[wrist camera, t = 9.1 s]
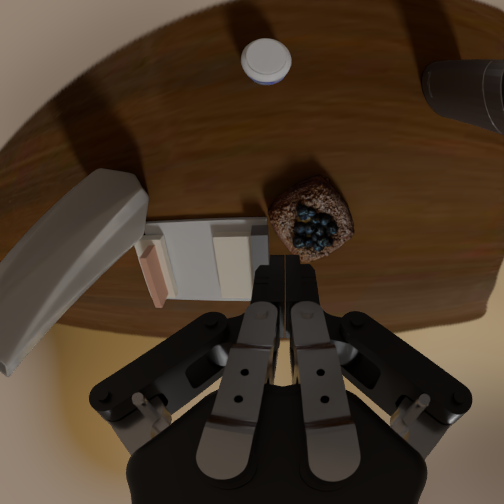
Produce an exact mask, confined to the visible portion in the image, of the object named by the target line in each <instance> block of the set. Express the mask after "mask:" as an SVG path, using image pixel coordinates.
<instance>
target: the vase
mask: <svg viewBox="0 0 504 504" xmlns="http://www.w3.org/2000/svg"><path fill="white" fill-rule="evenodd" d="M148 202H149V196H148V194H147V193H146V191H145V189H144V188H143V186H142V185H141V183H140V182H139V180H138V178H137V177H136V175H134V174H132V173H128V172H122V171H116V170H110V169H103V168H100V169H96V170H95V171H94V172H92V173H91V174H89V175H88V176H87V177H86V178H84V179H83V180H82V181H81V182H80V183H78V184H77V185H76V186H75V187H74V188H73V189H71V190H70V191H69V192H68V193H67V194H66V195H65V196H63V197H62V198H61V199H60V200H59V201H58V202H57V203H56V204H55V205H54V206H53V207H51V208H50V209H49V210H48V211H47V212H46V213H45V214H44V215H43V216H42V217H41V218H40V219H39V220H38V221H37V222H36V223H35V224H34V225H33V226H32V227H31V228H30V229H29V231H28V232H27V233H26V234H25V235H24V236H23V237H22V238H21V239H20V240H19V241H18V243H17V244H16V245H15V246H14V247H13V248H12V249H11V251H10V252H9V253H8V254H7V255H6V256H5V258H4V259H3V260H2V261H1V263H0V372H1V373H2V374H4V375H5V376H6V377H9V376H10V375H11V374H12V373H13V371H14V370H15V369H16V368H17V367H18V366H19V364H20V363H21V362H22V361H23V359H24V358H25V357H26V356H27V355H28V353H29V352H30V351H31V350H32V348H33V347H34V346H35V345H36V344H37V343H38V342H39V340H40V339H41V338H42V337H43V336H44V335H45V333H46V332H47V331H48V330H49V329H50V328H51V327H52V326H53V325H54V324H55V322H56V321H57V320H58V319H59V318H60V317H61V316H62V315H63V314H64V313H65V312H66V311H67V310H68V308H69V307H70V306H71V305H72V304H73V303H74V302H75V301H76V300H77V299H78V298H79V297H80V296H81V295H82V294H83V293H84V292H85V291H86V290H87V289H88V288H89V287H90V286H91V285H92V284H93V283H94V282H95V281H96V280H97V279H98V278H99V277H100V276H101V275H102V274H103V273H104V272H105V271H106V270H107V269H108V268H110V267H111V266H112V265H113V264H114V263H115V262H116V261H117V260H118V259H119V258H120V257H121V256H122V255H123V254H125V253H126V252H127V251H128V250H129V249H130V248H131V247H132V246H133V245H134V244H136V243H137V242H138V241H139V240H140V239H141V238H142V236H143V234H144V229H145V222H146V215H147V209H148Z"/></svg>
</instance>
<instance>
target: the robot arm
mask: <svg viewBox="0 0 504 504" xmlns="http://www.w3.org/2000/svg"><path fill="white" fill-rule="evenodd" d="M422 88H423V92H424V96H425V98H426V100H427V102H428V104H429V105H430V107H431V108H432V109H433V110H434V111H435V112H436V113H437V114H439V115H441V116H443V117H447V118H450V119H454V120H458V121H461V122H464V123H468V124H471V125H475V126H478V127H481V128H484V129H487V130H490V131H493V132H496V133H499V134H501V135H504V60H492V59H469V60H447V61H436V62H433V63H431V64H429V65H428V66H427V67H426V69H425V70H424V73H423V76H422ZM284 312H285V268H284V255H270V265H260V266H259V267H258V268H257V269H256V271H255V276H254V284H253V290H252V297H251V304H250V306H248V307H247V309H246V311H245V313H244V314H242V315H240V316H237V317H233V318H228V319H227V318H226V316H225V315H223V314H222V313H219V312H208V313H205V314H203V315H201V316H200V317H198V318H197V319H195V320H194V321H192V322H191V323H190V324H188V325H187V326H185V327H184V328H182V329H181V330H179V331H178V332H176V333H175V334H173V335H172V336H170V337H169V338H167V339H166V340H164V341H163V342H161V343H160V344H158V345H157V346H155V347H154V348H153V349H151V350H149V351H148V352H146V353H145V354H143V355H142V356H140V357H139V358H137V359H136V360H134V361H133V362H131V363H129V364H128V365H126V366H125V367H124V368H122V369H120V370H119V371H117V372H116V373H114V374H112V375H111V376H109V377H108V378H106V379H105V380H103V381H102V382H100V383H98V384H97V385H95V386H94V387H93V389H92V390H91V392H90V395H89V402H90V404H91V406H92V407H93V408H94V409H95V410H96V411H97V412H98V413H99V414H100V415H101V417H102V418H103V419H104V420H106V421H107V422H108V423H109V424H110V425H111V426H112V428H113V429H114V431H115V432H116V434H117V436H118V437H119V438H120V440H121V442H122V443H123V444H124V446H125V447H126V449H127V450H128V452H129V453H130V454H131V457H130V459H129V461H128V464H127V469H126V477H127V482H128V485H129V488H130V493H131V500H132V504H418V501H419V498H420V496H421V493H422V491H423V489H424V486H425V483H426V480H427V466H426V463H425V458H426V457H427V456H428V455H429V454H430V452H431V451H432V450H433V448H434V447H435V446H436V444H437V443H438V442H439V440H440V439H441V438H442V436H443V435H444V434H445V432H446V431H447V429H448V428H449V427H450V426H452V424H454V423H455V422H456V421H457V420H458V419H459V418H461V417H462V416H463V415H464V414H465V413H466V412H467V411H468V410H469V409H470V407H471V405H472V394H471V392H470V390H469V389H468V388H467V387H466V386H465V385H463V384H462V383H461V382H459V381H458V380H457V379H455V378H454V377H453V376H451V375H450V374H449V373H447V372H445V371H444V370H443V369H442V368H440V367H439V366H438V365H436V364H435V363H433V362H432V361H431V360H429V359H428V358H427V357H425V356H424V355H423V354H421V353H420V352H418V351H417V350H416V349H414V348H413V347H411V346H410V345H409V344H407V343H406V342H405V341H403V340H402V339H400V338H399V337H397V336H396V335H395V334H393V333H392V332H391V331H389V330H388V329H386V328H385V327H384V326H382V325H381V324H379V323H378V322H377V321H375V320H374V319H372V318H371V317H369V316H368V315H367V314H365V313H362V312H358V311H353V312H349V313H347V314H345V315H344V316H343V317H342V318H341V317H336V316H332V315H329V314H328V313H326V312H325V311H323V309H322V308H321V306H320V302H319V295H318V288H317V281H316V275H315V270H314V269H313V267H312V266H311V265H310V264H300V255H286V338H290V362H291V373H292V385H289V386H283V387H281V386H277V385H274V378H275V371H276V364H277V356H278V348H279V345H280V338H284ZM342 375H343V376H344V377H345V378H347V379H348V380H349V381H350V382H351V383H352V384H353V385H355V386H356V387H357V388H358V389H359V390H360V391H362V392H363V393H364V394H365V395H366V396H367V397H369V398H370V399H371V400H372V401H373V402H374V403H376V404H377V405H378V406H379V407H380V408H382V409H383V410H384V411H385V412H386V413H387V414H389V415H390V416H391V418H390V426H391V427H390V426H389V425H388V424H387V423H386V422H385V421H384V420H382V419H381V418H380V417H379V416H378V415H377V414H376V413H375V412H374V411H373V410H372V409H371V408H370V407H368V406H367V405H366V404H365V403H364V402H363V401H362V400H361V399H360V398H359V397H357V396H356V395H355V394H353V393H351V392H350V391H347V390H345V385H344V380H343V376H342ZM220 377H222V380H221V383H220V386H219V389H218V390H216V391H214V392H212V393H210V394H209V395H207V396H205V397H204V398H203V399H202V400H201V401H199V402H198V403H197V404H196V405H194V406H193V407H192V408H191V409H190V410H188V411H187V412H186V413H185V414H183V415H182V416H181V417H180V418H178V419H177V420H176V421H174V422H173V423H172V424H171V420H172V418H171V415H172V414H173V413H175V412H176V411H177V410H179V409H180V408H181V407H183V406H184V405H186V404H187V403H188V402H190V401H191V400H192V399H193V398H195V397H196V396H197V395H199V394H200V393H201V392H203V391H204V390H205V389H206V388H208V387H209V386H210V385H212V384H213V383H214V382H215V381H217V380H218V379H219V378H220ZM170 424H171V425H170Z"/></svg>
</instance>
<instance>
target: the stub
mask: <svg viewBox="0 0 504 504" xmlns="http://www.w3.org/2000/svg"><path fill="white" fill-rule="evenodd" d="M134 245H135V248H136V252H137V255H138V258H139V262H140V265H141V268H142V271H143V274H144V277H145V280H146V283H147V286H148V289H149V292H150V294H151V297H152V299H153V301H154V304H155V307H156V308H162V307H163V305H164V302H165V300H166V298H176V296H177V294H178V290H177V286H176V282H175V279H174V275H173V271H172V267H171V264H170V260H169V256H168V252H167V247H166V243H165V239H164V235H144V236H142V238H141V239H140V240H139V241H138V242H137V243H136V244H134Z"/></svg>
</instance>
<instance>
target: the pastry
mask: <svg viewBox="0 0 504 504" xmlns="http://www.w3.org/2000/svg"><path fill="white" fill-rule="evenodd" d="M268 215H269V218H270V223H272V226H273V228H274V230H275V232H276V234H277V235H278V236H279V238H280V239H281V241H282V242H283V243H284V244H285V246H286V247H287V248H288V249H289V250H290V251H291V253H292V254H293V255H300V261H301V262H303V263H307V262H310V261H315V260H317V259H320V258H323V257H324V256H328V255H329V254H330V253H331V252H332V251H334V250H335V249H338V248H339V247H341V246H342V245H343V244H344V243H346V241H347V240H350V239H351V236H353V235H354V223H353V220H352V216H351V213H350V211H349V209H348V207H347V205H346V203H345V201H344V200H343V199H342V198H341V196H340V195H339V194H338V192H337V191H336V190H335V189H334V188H333V186H332V185H331V184H330V183H329V178H323V177H322V176H321V175H317V176H314V177H310V178H309V179H307V180H304V181H302V182H300V183H298V184H296V185H295V186H292V187H291V188H290V189H288V190H287V191H286V192H284V193H283V194H281V195H280V196H279V197H278V198H277V199H276V200H275V201H274V202H273V204H272V205H271V206H270V207H269V209H268Z"/></svg>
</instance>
